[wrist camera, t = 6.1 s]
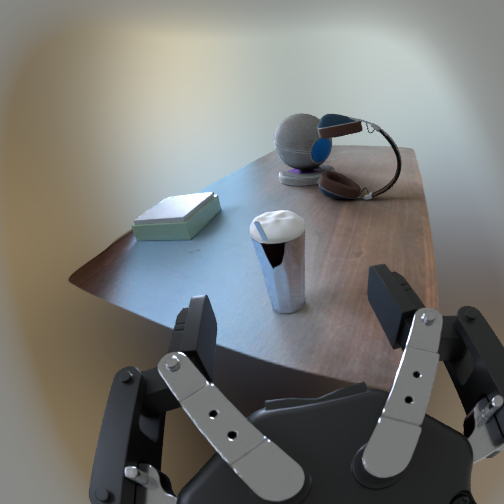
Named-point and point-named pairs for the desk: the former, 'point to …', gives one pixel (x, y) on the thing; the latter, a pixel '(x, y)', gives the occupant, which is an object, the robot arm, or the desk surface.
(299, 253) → the milkshake
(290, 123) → the webcam
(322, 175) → the headphones
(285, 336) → the desk surface
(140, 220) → the scale
